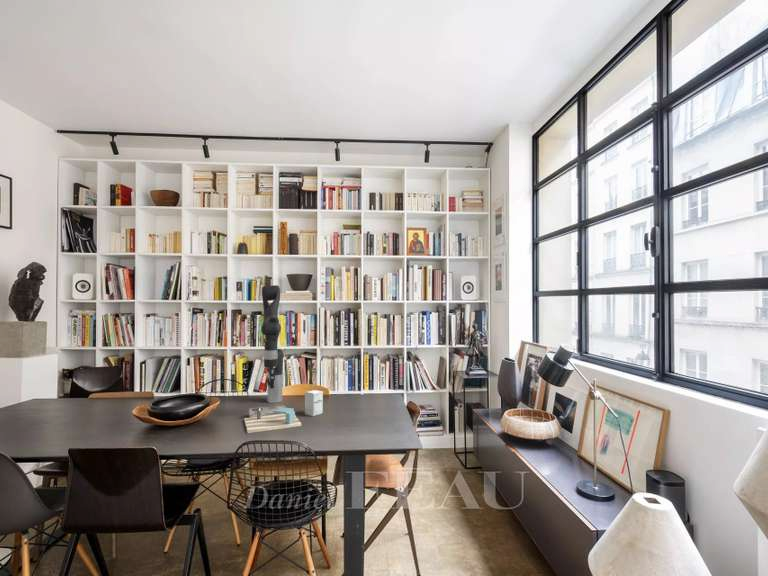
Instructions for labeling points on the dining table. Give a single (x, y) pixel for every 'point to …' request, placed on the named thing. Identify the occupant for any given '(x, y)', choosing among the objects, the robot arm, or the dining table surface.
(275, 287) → the robot arm
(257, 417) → the cylinder
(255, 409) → the link
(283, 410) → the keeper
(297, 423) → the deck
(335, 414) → the dining table surface
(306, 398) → the supplement box
